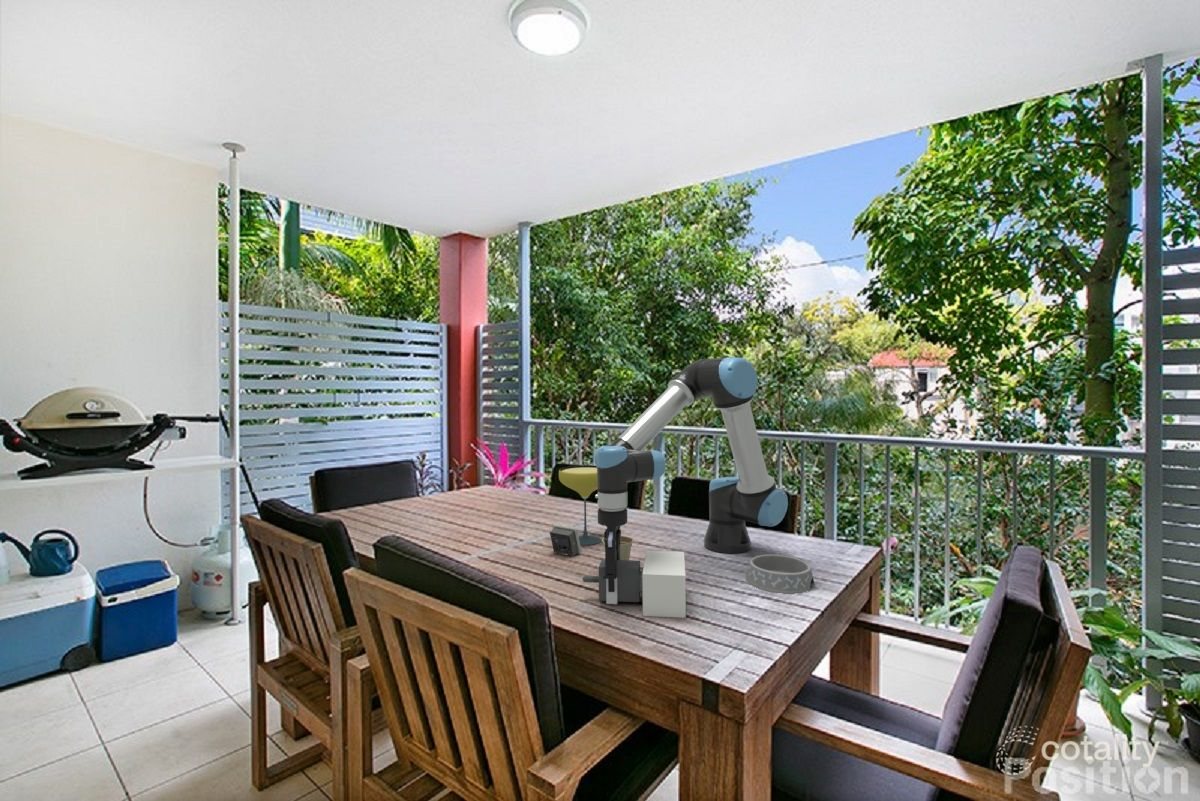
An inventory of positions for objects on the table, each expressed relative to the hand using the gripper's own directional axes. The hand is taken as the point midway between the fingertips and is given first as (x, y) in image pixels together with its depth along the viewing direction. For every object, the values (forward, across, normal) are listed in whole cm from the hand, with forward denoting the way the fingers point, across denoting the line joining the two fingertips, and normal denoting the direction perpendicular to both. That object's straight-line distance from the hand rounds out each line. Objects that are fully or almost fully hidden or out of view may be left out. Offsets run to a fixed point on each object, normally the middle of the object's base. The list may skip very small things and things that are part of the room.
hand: (613, 597), depth 140 cm
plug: (0, 0, +2) cm, 2 cm away
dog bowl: (+1, -17, +44) cm, 48 cm away
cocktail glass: (+1, -50, -15) cm, 52 cm away
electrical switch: (+1, -35, -19) cm, 40 cm away
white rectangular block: (0, 0, +13) cm, 13 cm away
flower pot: (+1, -23, -1) cm, 23 cm away
